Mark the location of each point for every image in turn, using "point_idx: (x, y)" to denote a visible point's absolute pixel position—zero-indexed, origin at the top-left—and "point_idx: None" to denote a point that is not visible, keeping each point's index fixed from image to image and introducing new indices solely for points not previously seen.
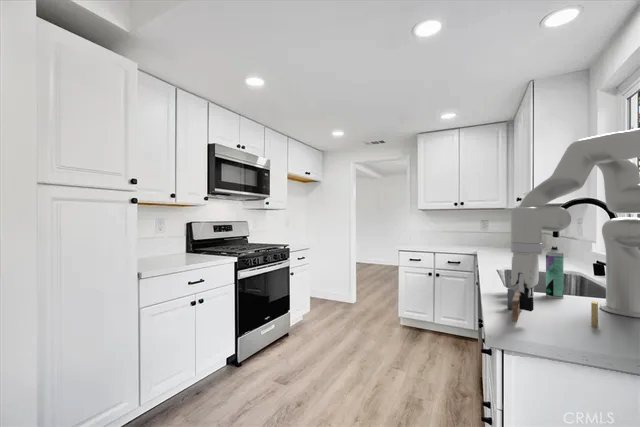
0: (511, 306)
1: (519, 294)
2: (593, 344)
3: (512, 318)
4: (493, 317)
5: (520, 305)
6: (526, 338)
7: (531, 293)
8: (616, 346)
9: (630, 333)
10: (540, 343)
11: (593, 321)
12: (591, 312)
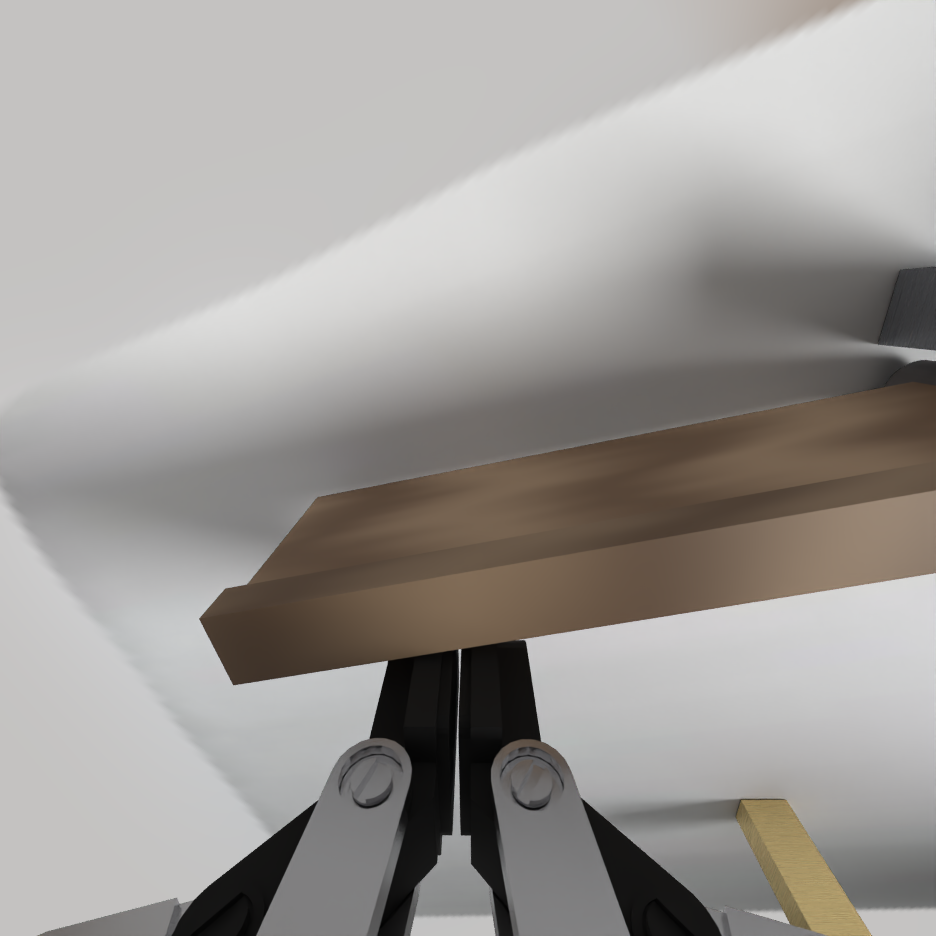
0: (922, 317)
1: (329, 782)
2: None
3: (306, 512)
4: (436, 271)
5: None
6: (158, 614)
7: (495, 910)
8: (463, 879)
9: (741, 903)
10: (157, 680)
11: (761, 848)
12: (806, 922)
